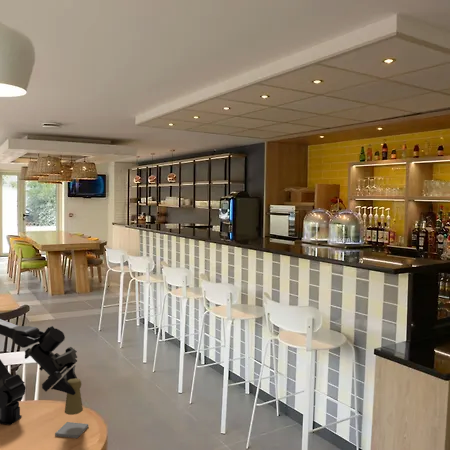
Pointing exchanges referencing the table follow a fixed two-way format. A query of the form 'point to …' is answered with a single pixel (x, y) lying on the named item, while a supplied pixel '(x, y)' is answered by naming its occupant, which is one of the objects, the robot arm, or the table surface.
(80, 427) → the coaster
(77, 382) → the cork
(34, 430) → the table surface
